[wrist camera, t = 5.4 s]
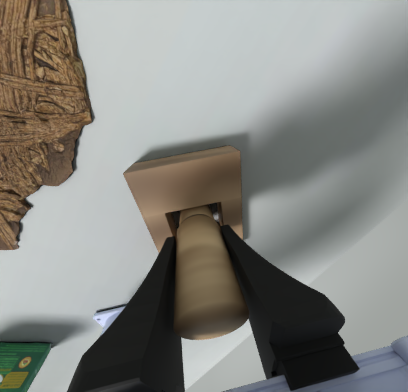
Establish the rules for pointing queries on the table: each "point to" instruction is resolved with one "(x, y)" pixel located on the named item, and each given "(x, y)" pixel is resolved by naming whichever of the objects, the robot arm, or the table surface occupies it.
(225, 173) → the board
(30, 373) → the coffee box
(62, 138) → the wooden fragment
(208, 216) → the peg
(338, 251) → the table surface
